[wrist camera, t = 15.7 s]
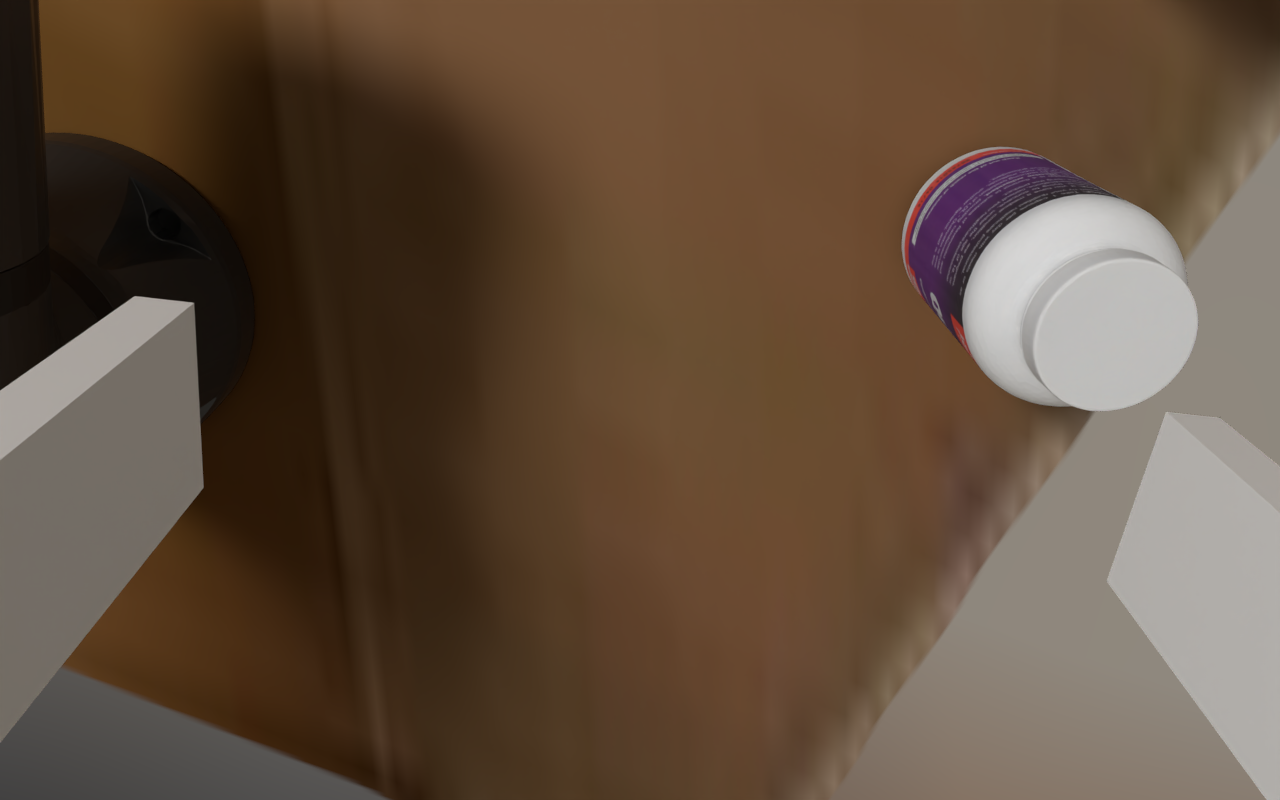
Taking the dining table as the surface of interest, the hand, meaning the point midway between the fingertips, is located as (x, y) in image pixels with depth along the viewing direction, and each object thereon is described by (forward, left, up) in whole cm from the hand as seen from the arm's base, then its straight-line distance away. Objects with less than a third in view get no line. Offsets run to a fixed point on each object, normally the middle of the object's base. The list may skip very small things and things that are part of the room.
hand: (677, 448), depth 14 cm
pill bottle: (+16, -4, -35) cm, 39 cm away
